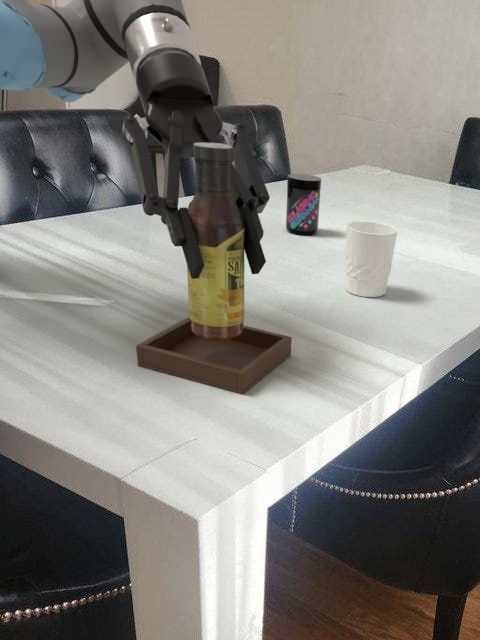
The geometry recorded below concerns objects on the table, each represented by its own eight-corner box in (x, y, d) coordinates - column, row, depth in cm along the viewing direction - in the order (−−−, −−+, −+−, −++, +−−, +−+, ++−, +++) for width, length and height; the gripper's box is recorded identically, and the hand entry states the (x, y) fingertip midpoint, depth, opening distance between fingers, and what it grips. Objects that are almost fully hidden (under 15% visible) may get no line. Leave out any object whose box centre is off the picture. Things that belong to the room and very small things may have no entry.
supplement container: (279, 231, 133) (281, 175, 127) (295, 225, 138) (298, 172, 132) (307, 237, 131) (311, 182, 125) (323, 232, 136) (327, 178, 130)
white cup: (360, 301, 102) (367, 235, 96) (332, 285, 107) (337, 222, 101) (398, 295, 106) (407, 232, 100) (370, 281, 111) (377, 220, 105)
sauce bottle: (240, 345, 74) (239, 153, 62) (184, 340, 73) (173, 145, 62) (248, 324, 79) (248, 143, 68) (196, 319, 79) (188, 137, 68)
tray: (137, 365, 75) (135, 345, 73) (196, 331, 85) (195, 313, 83) (242, 394, 72) (243, 373, 70) (291, 355, 82) (292, 336, 80)
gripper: (79, 38, 63) (144, 256, 61) (260, 57, 72) (321, 247, 70) (74, 94, 69) (132, 293, 68) (241, 105, 79) (296, 280, 77)
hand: (229, 269), depth 69 cm, fingers closed on sauce bottle, 6 cm apart
